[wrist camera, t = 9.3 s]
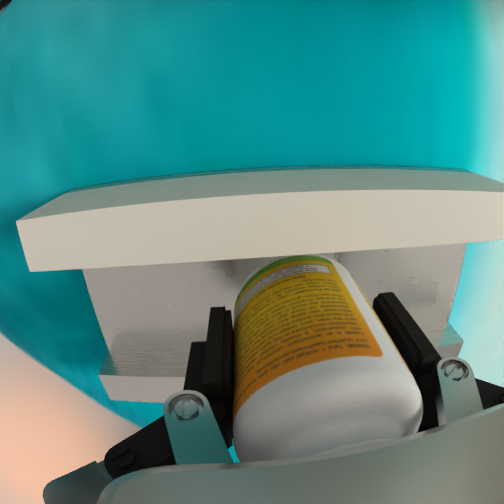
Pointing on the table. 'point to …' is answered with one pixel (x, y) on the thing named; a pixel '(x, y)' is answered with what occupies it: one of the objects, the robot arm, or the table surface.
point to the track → (195, 287)
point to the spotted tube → (3, 4)
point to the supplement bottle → (314, 365)
